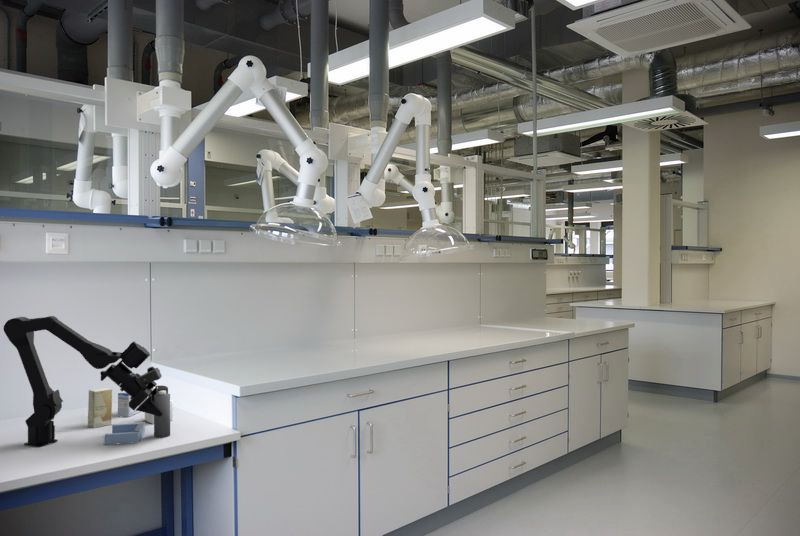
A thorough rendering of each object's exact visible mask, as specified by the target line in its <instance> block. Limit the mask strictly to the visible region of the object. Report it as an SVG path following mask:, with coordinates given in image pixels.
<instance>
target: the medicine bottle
mask: <svg viewBox="0 0 800 536" xmlns="http://www.w3.org/2000/svg"><path fill="white" fill-rule="evenodd" d="M156 386H158V388H157V393H158V391H163V390H164V391H166V393H167V394H169V387H168V386H166V385H156ZM156 386H155V387H156ZM155 387H153V389H154V388H155ZM173 405H174V401H173V400H172V399H170V422H171V421H173V420H174V410H173V409H174V406H173ZM144 421H146V422H147V423H150V424H152V425H154V415H152V414H149V413H145V412H144Z"/></svg>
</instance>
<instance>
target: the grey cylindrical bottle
mask: <svg viewBox="0 0 800 536" xmlns="http://www.w3.org/2000/svg"><path fill="white" fill-rule="evenodd" d="M170 400H171V393H168V394H167V393H166V391H164V390H163V391H158V394H156V395H154V404H155V405H156V406H157V407H158V408H159V410H160V411H161V412H162V413H163V414H162V416H160V417H159V416H156V415H154V424H153V437H154V438H155V437H156V439H162V438H163V439H164V438H167V437H170V436H171V421H170Z"/></svg>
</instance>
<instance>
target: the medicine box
mask: <svg viewBox="0 0 800 536" xmlns="http://www.w3.org/2000/svg"><path fill="white" fill-rule="evenodd" d="M130 398H131V396H130V395H128V394H127V393H126V392H125V391H123V392H122V391H120V392H118V393H117V417H118V416H122V417H121V418H130V417H132V416H134V414H135V415H136V414H139V413H142V412H141V411H136V409H137V408H138V407H139V406H138V407H137V408H136V409H135V410H132V409H131V408H130V407H129V402H130V400H131V399H130Z"/></svg>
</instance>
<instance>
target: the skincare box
mask: <svg viewBox="0 0 800 536" xmlns="http://www.w3.org/2000/svg"><path fill="white" fill-rule="evenodd" d="M87 401H88V403H87V405H88V408H87V409H88V410H87V426H88V427H90V428H93V429H96V428H99V427H104V426H105V425H106V426H110V424H111V425H112V418H113V417H112V415H113V414H112V412H113V411H112V410H113V409H112V407H113V389H112V388H109V387H102V388H95V389H88V400H87Z"/></svg>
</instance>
